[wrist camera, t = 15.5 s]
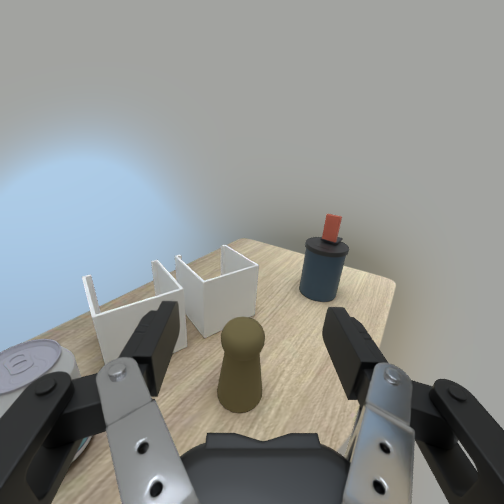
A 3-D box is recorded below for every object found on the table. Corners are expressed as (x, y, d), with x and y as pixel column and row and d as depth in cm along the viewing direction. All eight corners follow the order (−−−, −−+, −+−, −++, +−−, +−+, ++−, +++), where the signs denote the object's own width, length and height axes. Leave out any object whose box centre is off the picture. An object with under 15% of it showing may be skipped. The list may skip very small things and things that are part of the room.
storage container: (109, 383, 31) (92, 317, 27) (97, 333, 39) (81, 276, 34) (254, 314, 46) (258, 265, 41) (224, 288, 53) (225, 244, 49)
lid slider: (336, 244, 49) (342, 217, 47) (320, 240, 51) (325, 214, 49) (342, 239, 52) (348, 214, 50) (326, 235, 54) (331, 211, 52)
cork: (234, 423, 27) (237, 355, 23) (208, 385, 32) (207, 321, 27) (271, 394, 31) (280, 330, 27) (244, 363, 35) (248, 303, 31)
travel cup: (328, 308, 49) (341, 256, 44) (291, 291, 54) (298, 243, 49) (342, 290, 56) (354, 244, 51) (307, 277, 61) (315, 234, 56)
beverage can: (25, 510, 20) (-36, 425, 15) (4, 452, 24) (-51, 368, 19) (109, 438, 25) (83, 358, 20) (81, 399, 29) (54, 323, 24)
